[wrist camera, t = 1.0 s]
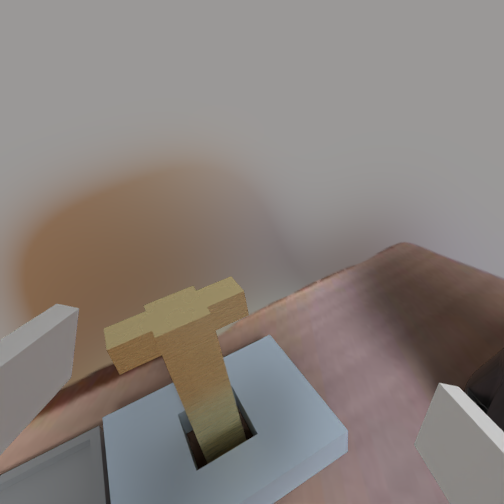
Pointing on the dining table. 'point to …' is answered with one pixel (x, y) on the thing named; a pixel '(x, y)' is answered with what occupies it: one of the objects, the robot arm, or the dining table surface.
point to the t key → (189, 356)
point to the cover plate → (236, 460)
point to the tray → (62, 475)
